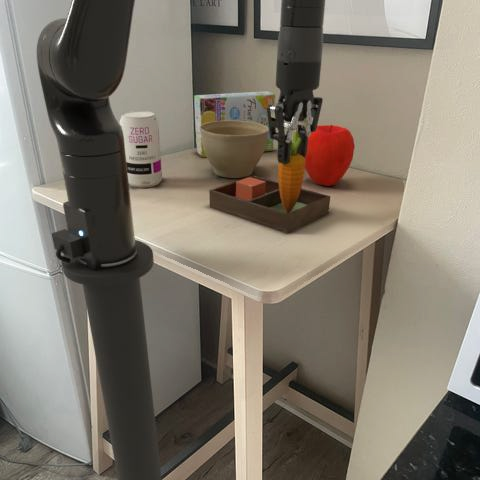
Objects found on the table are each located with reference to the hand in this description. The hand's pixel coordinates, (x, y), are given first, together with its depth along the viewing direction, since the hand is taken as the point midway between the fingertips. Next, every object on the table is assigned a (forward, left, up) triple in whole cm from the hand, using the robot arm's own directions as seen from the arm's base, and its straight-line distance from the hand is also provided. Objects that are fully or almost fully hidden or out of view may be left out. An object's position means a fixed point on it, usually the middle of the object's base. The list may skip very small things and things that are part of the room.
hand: (292, 159), depth 93 cm
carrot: (0, 0, -11) cm, 11 cm away
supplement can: (-6, +37, -11) cm, 39 cm away
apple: (+22, +6, -11) cm, 26 cm away
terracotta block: (0, +10, -10) cm, 14 cm away
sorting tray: (0, +5, -11) cm, 12 cm away
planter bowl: (+14, +27, -11) cm, 33 cm away
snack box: (+29, +40, -11) cm, 51 cm away
